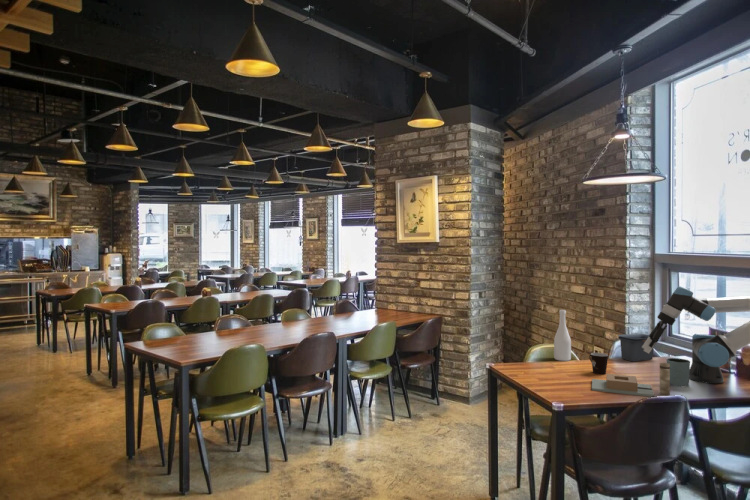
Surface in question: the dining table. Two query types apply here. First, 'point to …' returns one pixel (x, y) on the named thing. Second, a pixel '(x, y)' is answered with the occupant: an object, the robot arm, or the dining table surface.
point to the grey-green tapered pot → (679, 371)
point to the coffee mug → (599, 362)
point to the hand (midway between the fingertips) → (645, 350)
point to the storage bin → (634, 347)
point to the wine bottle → (562, 340)
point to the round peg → (665, 378)
